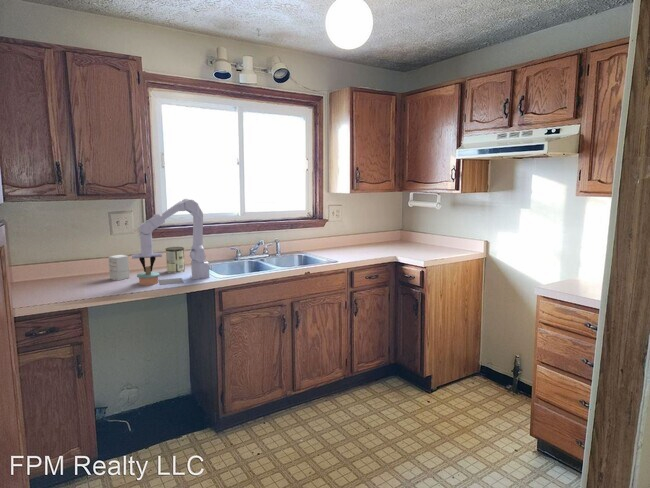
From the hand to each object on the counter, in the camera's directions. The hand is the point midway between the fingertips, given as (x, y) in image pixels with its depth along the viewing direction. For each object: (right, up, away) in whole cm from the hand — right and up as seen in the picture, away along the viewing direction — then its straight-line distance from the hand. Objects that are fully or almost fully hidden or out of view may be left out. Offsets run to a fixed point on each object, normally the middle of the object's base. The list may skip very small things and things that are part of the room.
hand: (148, 271), depth 222 cm
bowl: (0, -7, +1) cm, 7 cm away
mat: (+10, -6, +5) cm, 13 cm away
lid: (0, -2, 0) cm, 2 cm away
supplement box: (-20, -5, +11) cm, 24 cm away
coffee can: (+4, -2, +30) cm, 30 cm away
